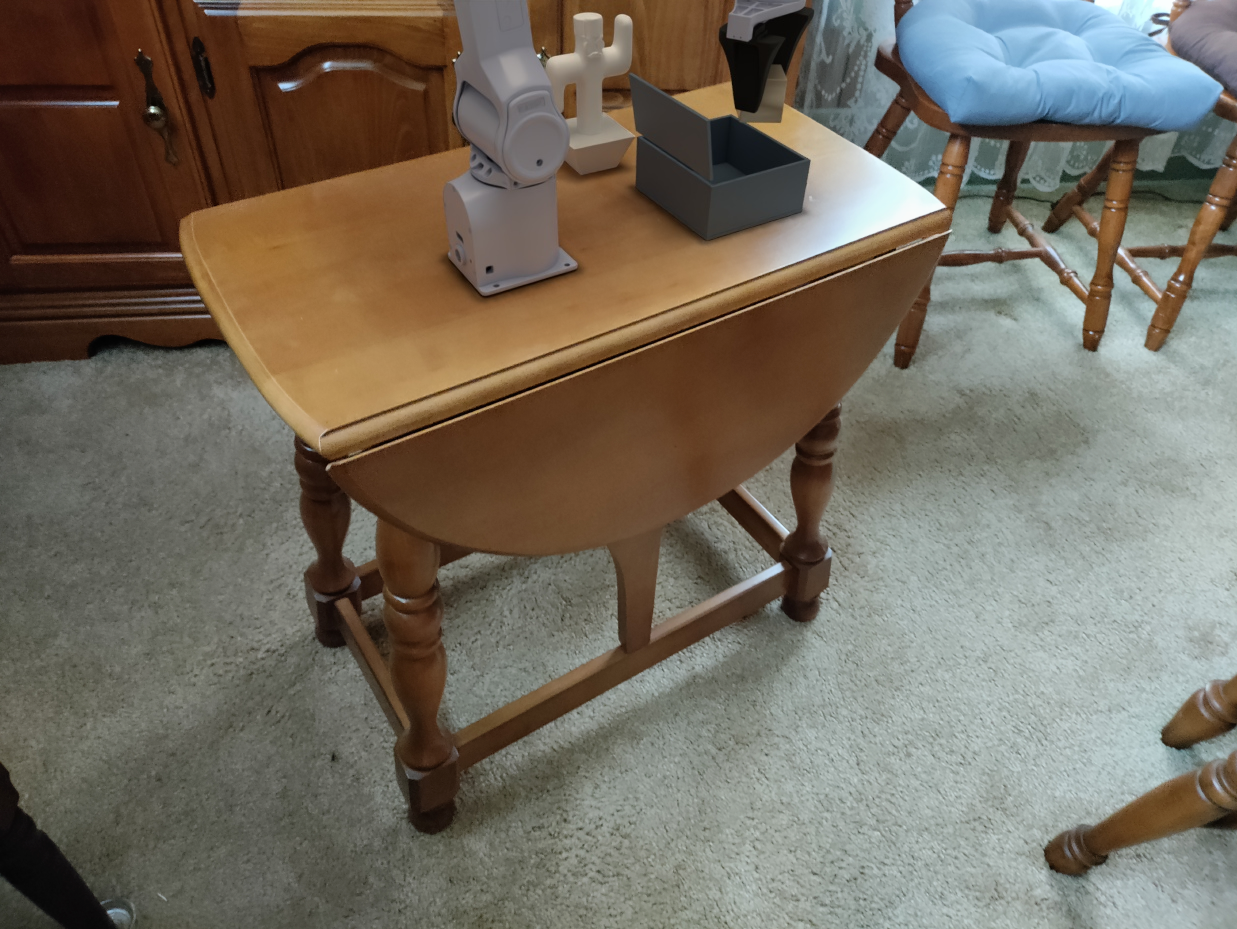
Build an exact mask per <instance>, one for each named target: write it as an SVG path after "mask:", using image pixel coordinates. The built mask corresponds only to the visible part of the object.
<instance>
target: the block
mask: <svg viewBox="0 0 1237 929" xmlns="http://www.w3.org/2000/svg"><path fill="white" fill-rule="evenodd" d="M787 85H788V78H787V75H786V76H785V73H784V71H783V68H782V66H781V65H771V68H770V71H769V74H768V77H767V81H766V85H765V90H764V94H763V97H762V101H761V104H760V106H759V109H758V111H757V112H756V113H750V112H745V111H740V110H736V109H735V111H736V116H737V118H738V119H739V122H740V123H748V124H751V123H752V124H754V123H755V124H757V123H758V124H781V123H782V121H783V114H784V107H785V101H786V100H785V99H786V93H787V87H788V86H787Z"/></svg>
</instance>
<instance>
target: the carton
mask: <svg viewBox="0 0 1237 929" xmlns="http://www.w3.org/2000/svg"><path fill="white" fill-rule="evenodd" d="M709 119H710V132H711V149H712V167H713V180H711V181H709V180H708V179H706V178H705V177H704V176H702V175H701V174H699V173H698V172H696V171H695V170H693V169H692V168H690V167H689V166H687V165H686V164H684V163H683V162H681V161H680V160H678V159H677V158H675V157H674V156H672V155H671V154H669V153H668V152H666V151H665V150H663V149H662V148H660V147H659V146H657V145H656V144H655V143H653V142H652V141H650V140H649V139H647V138H646V137H644V136H643V135H638V136H636V151H635V152H636V154H635V155H636V156H635V182H634V183H635V184H634V186H635V189H636V190H638V191H639V192H640V193H642V194H643V195H644V196H646V197H647V198H649V199H650V200H652V201H653V202H654V203H656V205H658V206H659V207H661V208H662V209H663V210H664V211H666V212H667V213H668V214H670V215H671V216H673V217H674V218H675V219H676V220H678V221H679V222H680V223H681V224H684V225H685V226H686V227H688V228H689V229H690V230H691V231H692V232H694V233H695V234H697V235H698V236H699V237H701V238H702V239H703V240H705V241H706V242H707V241H710V240H711V241H712V240H713V239H717V238H720V237H721V238H722V237H724V236H726V235H727V236H728V235H731V234H734V233H736V232H741V231H743V230H747V229H750V228H753V227H756V226H760V225H763V224H766V223H770V222H773V221H777V220H779V219H783V218H786V217H790V216H792V215H796V214H799V213H802V212H803V207H804V201H805V195H806V191H807V190H806V189H807V184H808V179H809V172H810V167H811V163H812V162H811V161H812V160H811V158H808V157H806V156H805V155H803V154H802V153H799V152H798V151H796V150H794V149H793V148H791V147H789V146H787V145H785V143H783V142H781V141H779V140H777V139H776V138H774V137H772V136H771V135H769V134H767V133H765V132H763V131H761V130H760V129H758V128H756V127H755V126H753V125H751V124H750V123H740V122H739V119H738V116H735V115H734V114H733V113H731V114H730V113H729V114H726V115H722V116H717V117H714V118H709Z"/></svg>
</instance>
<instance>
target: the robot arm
mask: <svg viewBox="0 0 1237 929" xmlns="http://www.w3.org/2000/svg"><path fill="white" fill-rule="evenodd" d="M806 2H807V0H734V6H733V9H732V10H731V12H729V13H728V15H727V16H728V18H727V22H726V23H724V24H723V25H722V26H720V27H719V28H718V41H719V44H720V46H721V48H722V50H723V53H724V55H725V58H726V61H727V62H726V63H727V65H728V70H729V76H730V82H731V90H732V99H733V105H734V110H735V111H736V110H740V111H745V112H750V113H756V112H757V111H758V109H759V106H760V104H761V101H762V97H763V94H764V90H765V85H766V81H767V77H768V74H769V71H770V68H771V65H781V66H782V68H783V71H784V73H785V76H786V77H787V74H788V71H789V68H790V65H791V62H792V61H793V60H792V59H793V58H794V54H795V51H796V50H797V47H798V44H799V43H800V41H801V39H802V36H803V35H804V33H805V31H806V29H807V28H808V26H809V25H810V23H811V22H812V20H813V18H814V15H815V9H814V8H812V7H808V6H806ZM453 4H454V9H455V15H456V20H457V25H458V30H459V34H460V39H461V45H462V52H461V54H460V55H459V56H458V58H457V59H456V60H455V62H454V63H453V64H454V65H453V67H454V73H455V78H456V91H455V95H454V100H453V107H452V114H453V115H452V116H453V120H454V124H455V126H456V128H457V130H458V132H459V133H460V135H461V136H462V137H463V138H464V139H465V140H467V141H468V142H469V147H470V155H469V168H468V169H467V171H465V172H464V173H463V174H461V175H460V176H458V177H456V178H454V179H451V180H449V181H447V182H445V183H444V185H443V189H442V190H443V191H442V202H443V210H444V216H445V217H444V218H445V224H446V231H447V238H448V247H449V250H448V252H447V257H448V259H449V260H450V261H451V262H452V264H453V265H454V266H455V267H456V268H457V269H458V271H460V272H461V274H462V275H463V276H464V278H466V279H467V280H468V282H470V283H471V285H472V286H473V287H474V288H475V289H476V290H477V292H478V293H479V294H480V295H482V296H485V297H487V296H492V295H494V294H497V293H501V292H504V291H508V290H512V289H515V288H518V287H521V286H525V285H528V284H531V283H535V282H538V281H541V280H544V279H547V278H548V279H549V278H551V277H555V276H559V275H561V274H565V273H569V272H571V271H574V270H577V268H578V262H577V261H576V260H575V259H574V258H573V257H572V256H570V255H569V254H568V253H567V252H566V250H564V249H563V248H562V247H561V246H560V244H559V242H560V241H559V218H558V217H559V216H558V214H559V213H558V192H557V190H558V188H557V178H558V176H557V173H558V171H559V170H560V168H561V167H562V165H563V164H564V162H565V158H566V156H567V153H568V150H569V144H570V133H569V128H568V125H567V122H566V120H565V119H566V118H565V117H564V116H563V114H562V113H560V111H559V110H558V108H557V106H556V104H555V101H554V95H553V88H552V84H551V82H550V80H549V78H548V76H547V74H546V72H545V68H544V66H543V64H542V61H541V60H540V59H539V56H538V53H537V51H536V50H535V48H534V41H533V36H532V35H533V34H532V28H531V20H530V14H529V7H528V6H529V5H528V0H453Z"/></svg>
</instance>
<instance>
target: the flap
mask: <svg viewBox="0 0 1237 929" xmlns="http://www.w3.org/2000/svg"><path fill="white" fill-rule="evenodd" d="M628 80H629V88H630V96H631V104H632V112H633V120H634V127H635V128H634V129H635V132H637V133H638V134H640V136H642V135H643V136H644V137H646V138H647V139H649V140H650V141H652V142H653V143H655V144H656V145H657V146H659V147H660V148H662V149H663V150H665V151H666V152H668V153H669V154H671V155H672V156H674V157H675V158H677V159H678V160H680V161H681V162H683V163H684V164H686V165H687V166H689V167H690V168H692V169H693V170H695V171H696V172H698V173H699V174H701V175H702V176H704V177H705V178H706V179H708V180H709V181H711V180H713V167H712V149H711V132H710V119H711V118H708V117H706V116H705V115H703V114H701V113H700V112H698V111H697V110H695V109H693V108H692V107H690V106H688V105H686V104H685V103H683V102H681V101H679V100H678V99H676V98H674V96H671V95H670V94H668V93H666V92H665V91H663V90H661V89H660V88H658V87H656V86H655V85H653V84H651V83H650V82H648V81H646V80H645V79H643V78H641V77H640V76H638V75H636V74H634V73H633V72H629V73H628Z"/></svg>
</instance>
